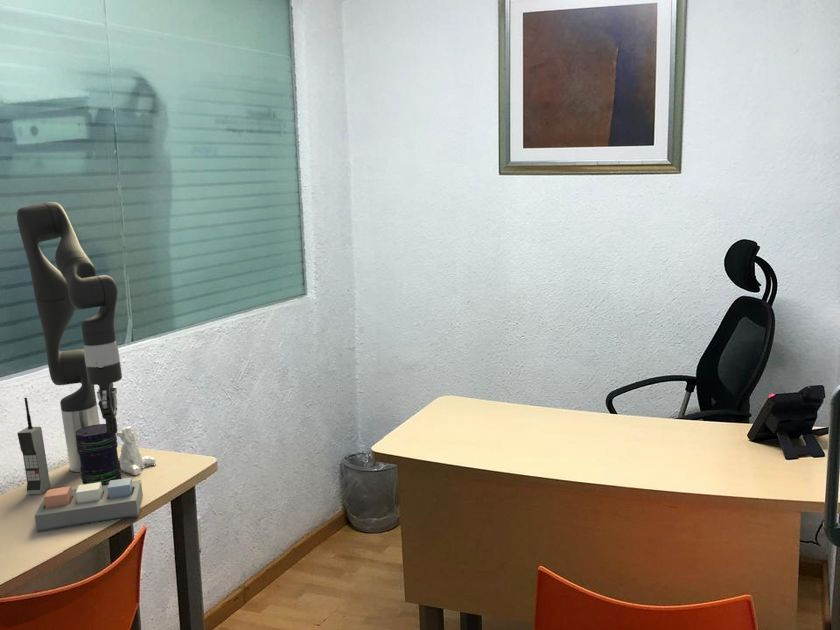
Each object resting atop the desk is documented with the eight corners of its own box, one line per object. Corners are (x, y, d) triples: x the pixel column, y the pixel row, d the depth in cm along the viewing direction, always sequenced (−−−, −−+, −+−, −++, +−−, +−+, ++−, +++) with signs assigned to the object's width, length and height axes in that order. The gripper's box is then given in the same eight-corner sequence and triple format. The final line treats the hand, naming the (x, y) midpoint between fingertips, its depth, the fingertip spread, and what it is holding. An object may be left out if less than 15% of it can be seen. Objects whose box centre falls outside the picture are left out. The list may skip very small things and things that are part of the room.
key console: (48, 509, 205) (46, 493, 204) (142, 495, 210) (140, 480, 209) (37, 532, 192) (34, 515, 191) (138, 516, 196) (135, 500, 196)
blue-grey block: (111, 494, 204) (109, 480, 203) (133, 491, 205) (131, 477, 204) (109, 501, 199) (107, 487, 198) (131, 498, 200) (129, 484, 199)
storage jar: (106, 475, 227) (98, 422, 224) (130, 480, 222) (123, 425, 219) (74, 488, 218) (66, 433, 216) (99, 493, 213) (91, 437, 211)
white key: (81, 498, 202) (79, 485, 201) (103, 495, 203) (101, 481, 203) (78, 506, 197) (75, 492, 197) (100, 503, 198) (98, 489, 198)
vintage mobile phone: (26, 495, 216) (11, 401, 212) (37, 487, 221) (22, 395, 217) (40, 494, 216) (26, 400, 211) (50, 487, 221) (36, 395, 216)
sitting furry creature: (136, 476, 224) (130, 433, 222) (109, 474, 227) (103, 432, 225) (157, 463, 233) (152, 422, 231) (131, 462, 236) (125, 421, 234)
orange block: (50, 503, 201) (47, 489, 200) (72, 500, 202) (70, 486, 201) (46, 511, 196) (43, 497, 195) (68, 508, 197) (66, 493, 196)
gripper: (89, 358, 202) (99, 427, 205) (81, 369, 189) (92, 443, 192) (122, 354, 203) (131, 423, 206) (116, 365, 191) (126, 438, 194)
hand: (112, 433), depth 199 cm, fingers closed
